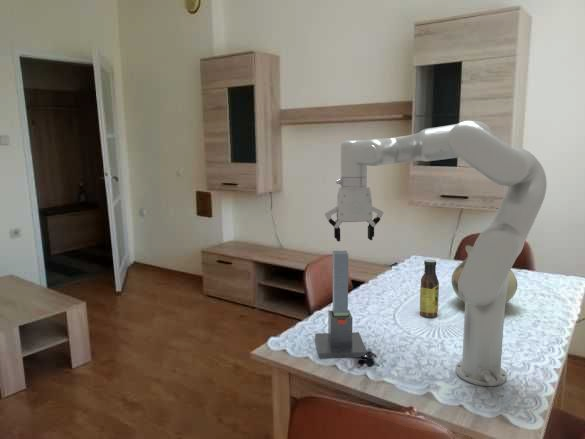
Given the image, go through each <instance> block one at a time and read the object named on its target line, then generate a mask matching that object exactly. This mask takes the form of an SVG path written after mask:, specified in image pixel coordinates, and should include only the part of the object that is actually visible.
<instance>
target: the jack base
mask: <svg viewBox="0 0 585 439" xmlns="http://www.w3.org/2000/svg"><path fill="white" fill-rule="evenodd" d="M327 314H328V317H327V319H328V320H327V321H328V325H327V326H328V327H327V328H328V330H327V333H326V332H325V333H323V332H322V333H321V332H320V333H319V332H318V333H314V338H315V339H314V340H315V346H316V349H317V350H316V351H317V354H318V355H317V356H318V358H319V359H339V358H341V359H342V358H346V359H347V358H362V357H361V356H365V355H366V353H367V354H368V350H367V349H366V348H367V347H366V346H365V343H364V340H363V339H362V336H361V334H360V331H359V332H357V331H356V332H354V331H353V316H352V314H351V311H350V310H349V309H348V317H333V312H332V310H328V313H327Z"/></svg>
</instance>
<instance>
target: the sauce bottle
mask: <svg viewBox="0 0 585 439" xmlns="http://www.w3.org/2000/svg"><path fill="white" fill-rule="evenodd" d="M423 262H424V263H423V264H424V265H423V266H424V273H423V275H422V277H421V278H420V290H419V293H420V294H419V311H420V312H419V314H420V316H422V317H425V318H436V317H437V316H438V313H439V297H440V296H439V294H440V292H439V289H440V282H439V280H438V276H437V272H436V269H437V261H436V260H435V259H425V260H424V261H423Z"/></svg>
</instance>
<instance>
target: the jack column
mask: <svg viewBox="0 0 585 439" xmlns="http://www.w3.org/2000/svg"><path fill="white" fill-rule="evenodd" d="M348 310H349V253H348V251H347V250H332V308H331V311H332V312H333V317H348Z"/></svg>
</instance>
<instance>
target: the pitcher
mask: <svg viewBox="0 0 585 439" xmlns="http://www.w3.org/2000/svg"><path fill="white" fill-rule="evenodd" d="M473 246H474V244H470V243H469V244H466V245H465V246H464V247H465V252H466V254H467V256H466V258H465V259H464V260H463V261H462V262H460V264H458V266H456V267H455V268H454V270H453V272H452V274H451V287H452V289H453V292H454V293H455V295H456V296H457V297H458V298H459V300H461V301H462V302H463V305H464V307H465V303H466V301H465V300H464V299H463V298H462V296H461V295H460V293H459V289H458V280H459V277H460V274H461V272H462V270H463V268H464V266H465V263H466V261H467V259H468V257H469V255H470V252H471V250H472V248H473ZM517 290H518V279H517V277H516V275H515V273H514V272H513V270H512V269H511V270H510V272H509V274H508V288H507V295H506V302H505V305H506V304H507V303H509V302H510V300H512V299H513V297H514V296H515V294H516V292H517Z"/></svg>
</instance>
